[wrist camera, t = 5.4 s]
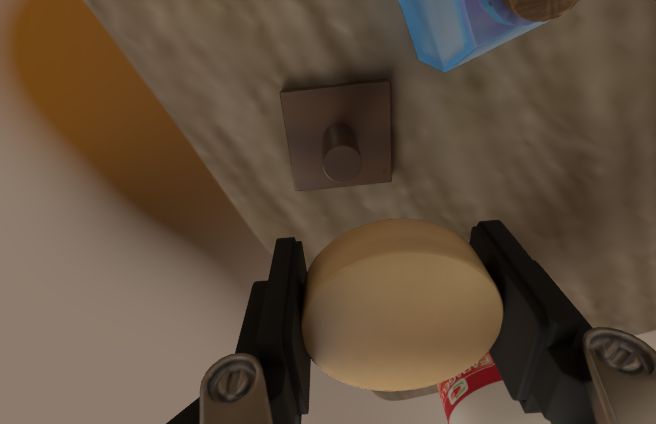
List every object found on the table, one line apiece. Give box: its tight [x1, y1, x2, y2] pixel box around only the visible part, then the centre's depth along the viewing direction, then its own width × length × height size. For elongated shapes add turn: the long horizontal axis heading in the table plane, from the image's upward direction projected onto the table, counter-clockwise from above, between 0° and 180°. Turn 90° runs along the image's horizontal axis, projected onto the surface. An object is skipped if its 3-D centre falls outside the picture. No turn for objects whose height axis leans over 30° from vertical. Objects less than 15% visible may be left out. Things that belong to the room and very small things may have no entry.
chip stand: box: [280, 79, 392, 191], centre depth 25 cm, size 8×8×6 cm
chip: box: [301, 219, 504, 391], centre depth 10 cm, size 5×5×1 cm
